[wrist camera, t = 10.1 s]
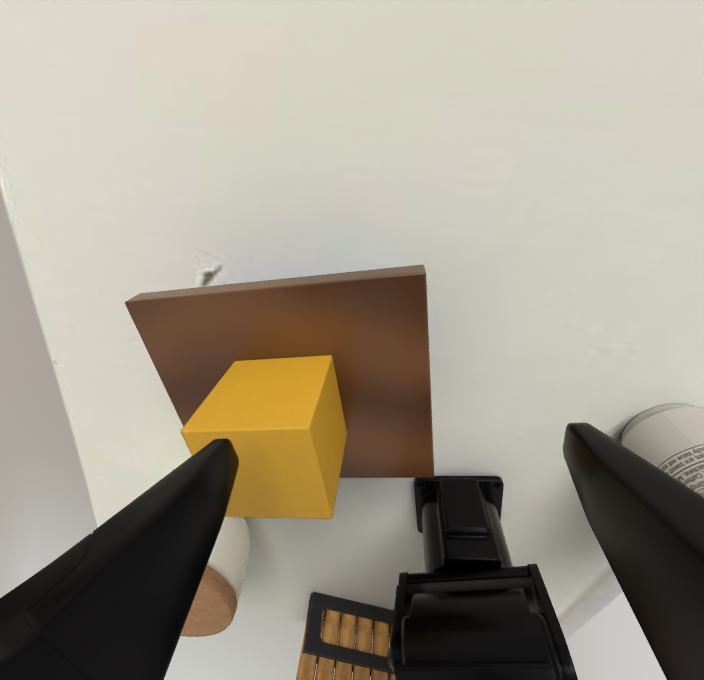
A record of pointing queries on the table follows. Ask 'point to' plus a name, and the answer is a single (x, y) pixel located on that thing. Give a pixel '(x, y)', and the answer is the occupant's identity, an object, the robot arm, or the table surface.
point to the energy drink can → (670, 441)
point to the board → (311, 352)
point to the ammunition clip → (345, 641)
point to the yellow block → (277, 435)
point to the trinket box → (220, 581)
